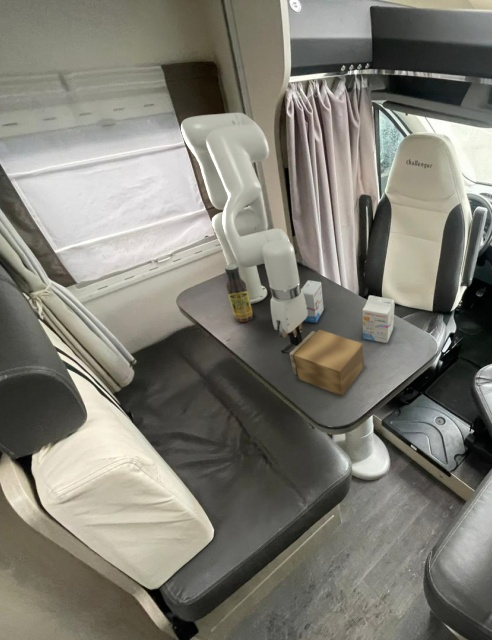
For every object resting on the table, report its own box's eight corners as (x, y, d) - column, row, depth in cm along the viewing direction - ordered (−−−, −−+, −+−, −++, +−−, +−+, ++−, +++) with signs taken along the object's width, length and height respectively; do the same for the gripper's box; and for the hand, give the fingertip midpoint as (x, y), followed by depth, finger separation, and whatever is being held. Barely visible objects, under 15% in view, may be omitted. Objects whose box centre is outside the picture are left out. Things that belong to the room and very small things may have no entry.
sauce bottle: (236, 324, 125) (219, 273, 111) (234, 315, 129) (218, 264, 115) (255, 320, 126) (241, 269, 113) (253, 311, 131) (239, 260, 117)
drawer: (279, 367, 108) (274, 348, 102) (301, 345, 115) (298, 326, 110) (332, 388, 102) (330, 368, 96) (352, 363, 109) (351, 343, 104)
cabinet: (298, 379, 105) (293, 354, 99) (322, 353, 114) (319, 329, 107) (342, 396, 101) (339, 371, 94) (363, 367, 109) (362, 343, 103)
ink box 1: (317, 323, 125) (312, 294, 117) (303, 321, 126) (298, 292, 118) (324, 309, 131) (321, 280, 123) (311, 307, 132) (307, 279, 124)
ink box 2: (362, 339, 119) (361, 305, 110) (369, 324, 125) (369, 290, 116) (387, 343, 117) (388, 309, 108) (393, 328, 123) (395, 294, 114)
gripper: (291, 273, 100) (301, 326, 112) (255, 300, 90) (270, 355, 102) (314, 279, 97) (321, 333, 110) (279, 307, 87) (292, 363, 100)
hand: (296, 343), depth 106 cm, fingers closed
